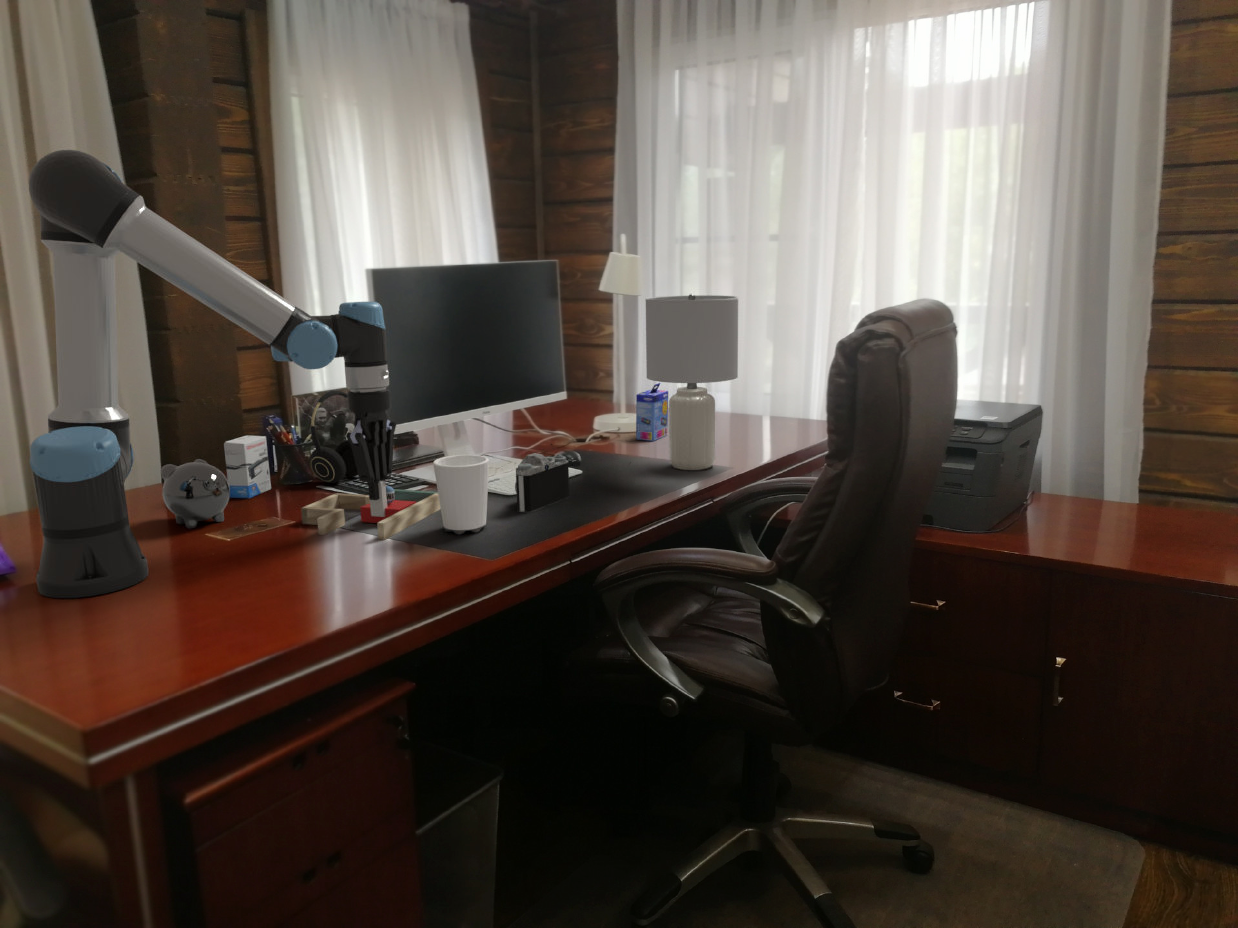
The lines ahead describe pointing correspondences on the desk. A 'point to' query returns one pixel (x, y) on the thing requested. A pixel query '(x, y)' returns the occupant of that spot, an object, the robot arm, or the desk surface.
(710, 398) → the lamp
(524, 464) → the camera
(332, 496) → the channel
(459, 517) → the cup
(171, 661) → the desk surface
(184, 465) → the piggy bank
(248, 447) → the ink box
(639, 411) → the ink cartridge box
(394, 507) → the red rectangular block
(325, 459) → the headphones
